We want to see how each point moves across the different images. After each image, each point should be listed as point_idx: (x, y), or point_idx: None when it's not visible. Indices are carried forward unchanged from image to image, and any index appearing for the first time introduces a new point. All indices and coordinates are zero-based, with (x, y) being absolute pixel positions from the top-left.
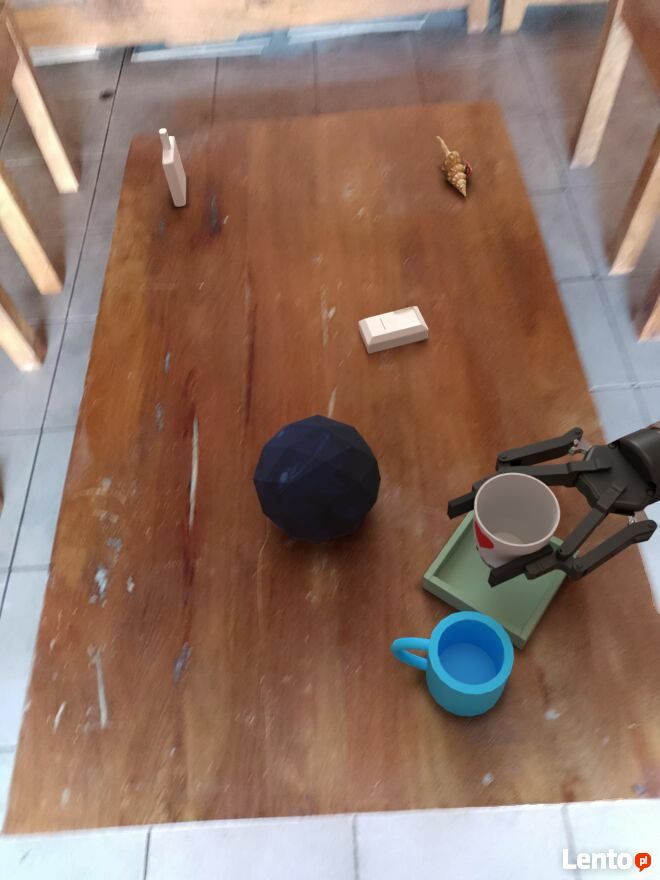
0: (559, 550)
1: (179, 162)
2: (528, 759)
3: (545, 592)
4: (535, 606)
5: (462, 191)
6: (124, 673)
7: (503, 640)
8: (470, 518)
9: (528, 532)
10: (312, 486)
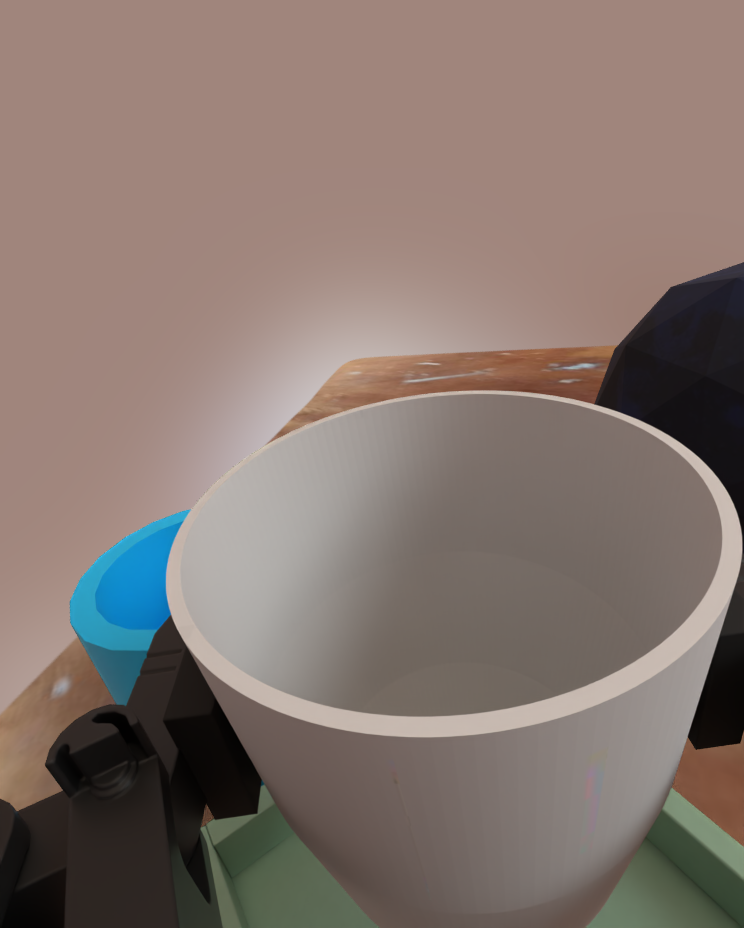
0: (139, 760)
1: None
2: (10, 777)
3: None
4: None
5: None
6: (454, 386)
7: (148, 634)
8: (712, 845)
9: None
10: (667, 307)
